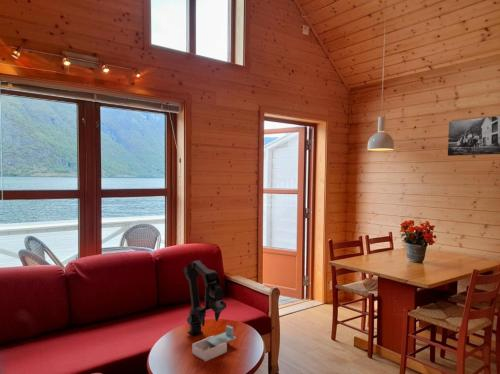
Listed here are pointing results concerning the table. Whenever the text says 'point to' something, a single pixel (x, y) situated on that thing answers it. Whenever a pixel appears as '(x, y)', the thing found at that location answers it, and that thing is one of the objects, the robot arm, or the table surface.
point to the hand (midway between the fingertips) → (210, 323)
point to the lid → (222, 337)
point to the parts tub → (208, 349)
